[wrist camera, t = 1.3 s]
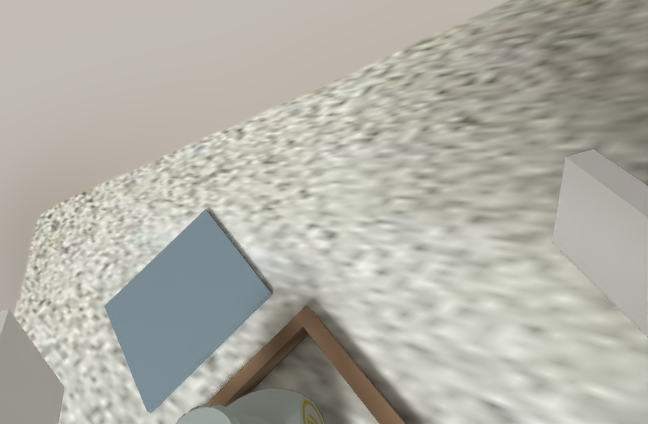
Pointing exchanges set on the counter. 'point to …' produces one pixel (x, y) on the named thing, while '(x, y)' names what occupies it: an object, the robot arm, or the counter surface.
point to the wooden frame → (331, 348)
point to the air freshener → (258, 410)
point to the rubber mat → (183, 307)
